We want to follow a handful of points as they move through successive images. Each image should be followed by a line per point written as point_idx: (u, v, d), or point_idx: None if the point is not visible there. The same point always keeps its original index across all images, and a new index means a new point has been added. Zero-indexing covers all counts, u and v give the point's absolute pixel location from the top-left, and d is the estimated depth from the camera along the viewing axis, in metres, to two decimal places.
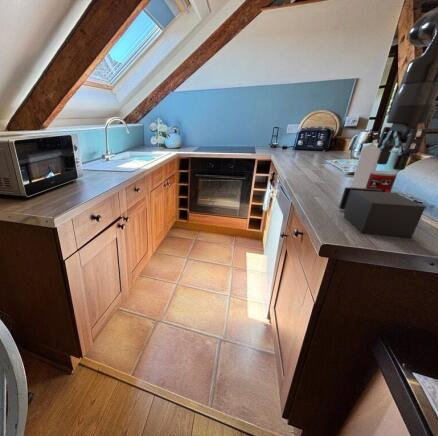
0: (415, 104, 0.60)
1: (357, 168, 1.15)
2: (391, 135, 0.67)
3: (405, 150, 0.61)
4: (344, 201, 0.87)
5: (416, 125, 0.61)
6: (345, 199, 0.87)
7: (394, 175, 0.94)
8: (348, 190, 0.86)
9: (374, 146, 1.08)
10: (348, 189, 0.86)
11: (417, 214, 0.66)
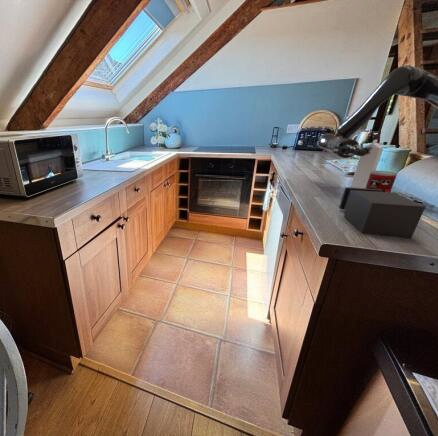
0: (333, 150, 1.04)
1: (357, 168, 1.15)
2: None
3: (346, 154, 0.94)
4: (344, 201, 0.87)
5: (338, 147, 0.99)
6: (345, 199, 0.87)
7: (394, 175, 0.94)
8: (348, 190, 0.86)
9: (374, 146, 1.08)
10: (348, 189, 0.86)
11: (417, 214, 0.66)
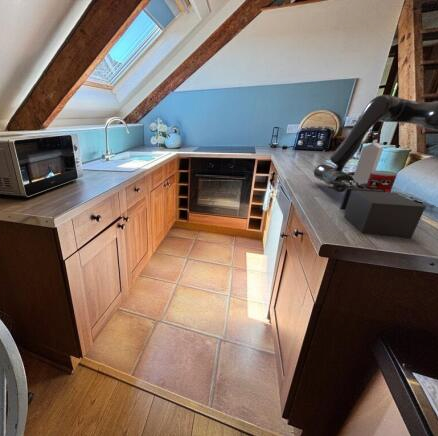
0: (328, 182, 1.05)
1: (357, 168, 1.15)
2: None
3: (341, 190, 0.95)
4: (345, 202, 0.87)
5: (333, 181, 1.00)
6: (346, 200, 0.86)
7: (394, 175, 0.94)
8: (349, 191, 0.85)
9: (374, 146, 1.08)
10: (349, 190, 0.85)
11: (417, 214, 0.66)
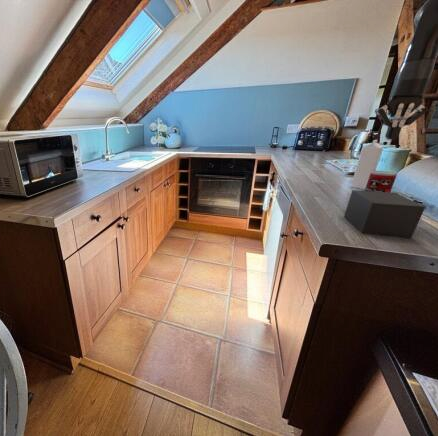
0: (394, 81, 0.75)
1: (357, 168, 1.15)
2: None
3: None
4: None
5: (391, 98, 0.75)
6: None
7: (394, 175, 0.94)
8: None
9: (374, 146, 1.08)
10: None
11: (417, 214, 0.66)
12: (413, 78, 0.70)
